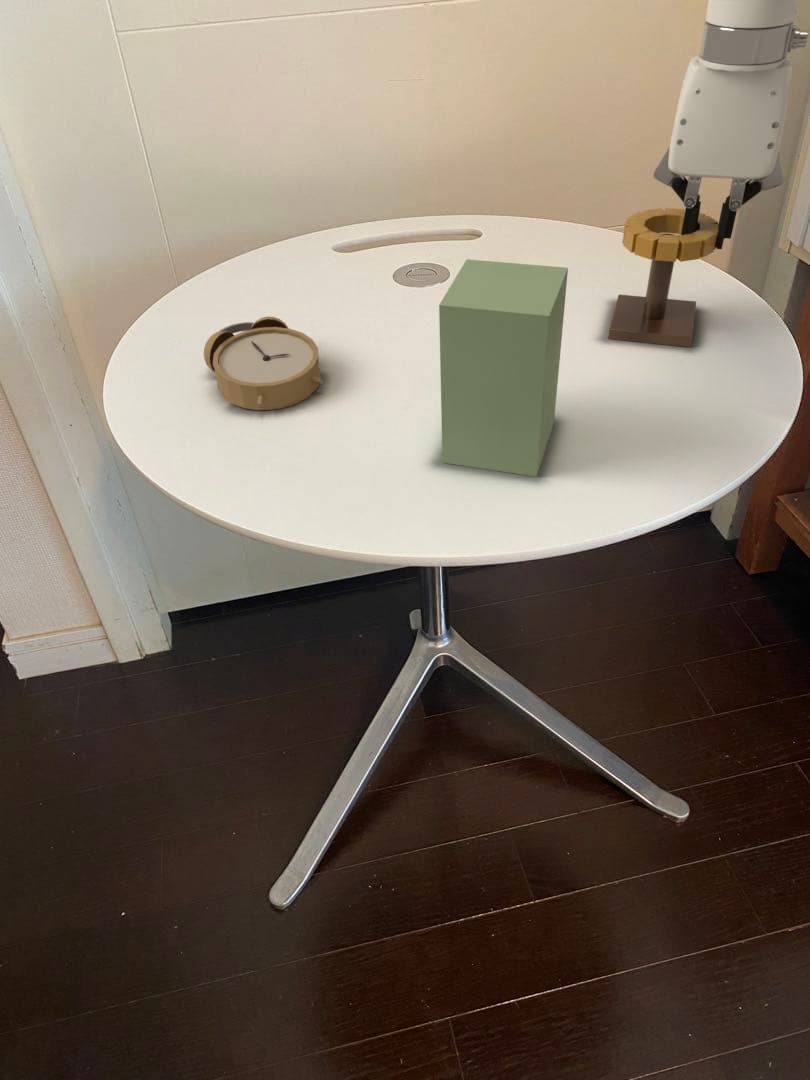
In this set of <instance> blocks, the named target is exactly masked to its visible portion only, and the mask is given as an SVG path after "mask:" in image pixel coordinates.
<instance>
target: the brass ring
mask: <svg viewBox="0 0 810 1080" xmlns="http://www.w3.org/2000/svg"><path fill="white" fill-rule="evenodd" d="M685 209H686V208H674V207H673V208H672V207H664V209H663V208H661V207H660V208H652V209H645V210H642V211H638V212H636V213H634V214H632V215H630V216H628V217H627V218H626V221H625V224H624V229H623V236H622V246H623V247H624V248H625V249H627V250H628V251H629V253H631V254H633V255H634V256H638V257H641V258H644V259H647V260H651V261H652V259H653V258H655V257H656V258H655V260H658V261H671V262H674V263H675V262H677V261H679V262H689V261H695V260H699V259H700V258H701V259H704V258H705V257H708V256H709V255H711V254H713V253H714V252H715V251H716V248H715V244H716V239H717V234H718V226H719V221H717V220H716V219H714V218H713V217H711V216H710V215H706V213H702V212H699V217H698V222H697V227H696V232H694V233H692V234H686V235H681V231H682V226H683V220H684V215H685ZM662 234H673V235H662ZM676 234H679V235H676ZM675 235H676V236H675Z"/></svg>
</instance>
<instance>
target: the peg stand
mask: <svg viewBox="0 0 810 1080" xmlns="http://www.w3.org/2000/svg"><path fill="white" fill-rule="evenodd" d="M661 234H662V235H675V236H677V235H676V234H674V233H661ZM655 258H656V257H655ZM655 258H653V259H651V262H650V268H649V274H648V281H647V287H646V293H645V296H642V295H641V296H639V295H629V294H618V295H617V299H616V301H615V307H614V310H613V313H612V314H613V315H612V318H611V322H610V325H609V328H608V334H607V335H608V336H607V339H608V340H616V341H617V340H618V341H625V342H626V341H627V342H635V343H636V342H637V343H646V344H654V345H663V346H665V345H666V346H674V347H675V346H676V347H683V348H691V345H692V341H693V335H694V334H693V332H694V325H695V316H696V308H697V301H696V300H686V299H685V300H684V299H672V298H669V293H670V288H671V282H672V277H673V272H674V266H675V262H671V261H658V260H655Z"/></svg>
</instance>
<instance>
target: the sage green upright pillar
mask: <svg viewBox="0 0 810 1080" xmlns="http://www.w3.org/2000/svg"><path fill="white" fill-rule="evenodd" d="M568 272H569V267H564V266H563V267H562V266H553V265H552V266H550V265H542V264H541V265H540V264H539V265H538V264H529V263H528V264H527V263H517V262H516V263H515V262H504V261H494V260H493V261H491V260H480V259H479V260H477V259H469V258H467V259H465V261H464V263H463V264H462V266H461V268H460V270H459V271H458V273H457V275H456V276H455V278H454V279H453V281H452V283H451V284H450V286H449V287H448V290H447V291H446V292H445V294H444V296H443V298H442V300H440V303H439V304H438V316H439V317H438V318H439V319H438V320H439V361H440V362H439V363H440V365H439V366H440V367H439V369H440V370H439V371H440V407H441V408H440V410H441V412H440V413H441V416H440V417H441V455H442V456H441V458H442V459H441V460H442V463H443V464H448V465H449V464H450V465H455V466H461V467H468V468H476V469H482V470H488V471H495V472H501V473H502V472H503V473H508V474H513V475H514V474H515V475H522V476H529V477H535V478H538V475H539V472H540V468H541V465H542V462H543V459H544V456H545V453H546V449H547V446H548V443H549V440H550V437H551V433H552V430H553V428H554V424H555V416H556V406H557V393H558V384H559V382H558V381H559V371H560V361H561V351H562V340H563V328H564V318H565V317H564V316H565V306H566V295H567V294H566V293H567V284H568Z"/></svg>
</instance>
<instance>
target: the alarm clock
mask: <svg viewBox="0 0 810 1080" xmlns="http://www.w3.org/2000/svg"><path fill="white" fill-rule="evenodd" d="M236 333H237V334H236ZM203 359H204V362H205V364H206V366H207V367H208V369H210V371H212V372H213V373H215V379H216V385H217V389H218V391H219V393H220V395H221V397H222V398H224V399H225V400H226V401H227V402H229V404H231V405H234V406H237V407H239V408H242V409H247V410H255V411H271V410H272V411H273V410H279V409H283V408H288V407H291V406H294V405H297V404H299V403H300V402H302V401H304V400H306V399H308V398H309V397H310V396H311V395H313V393H314V392H315V391H317V389H318V386H319V385H323V384H324V379H322V378H321V368H320V361H319V348H318V346H317V344H316V343H315V341H314V339H312V338H311V337H310V336H308V335H307V334H306V333H304V332H301V331H298V330H295V329H293V328H289V327H288V325H287V324H286V322H284V321H283V320H282V319H280V318H277V317H275V316H263V317H260V318H259V319H257V320H255V321H254V322H250V321H249V322H248V321H247V322H245V321H244V322H239V323H238V322H237V323H234V324H230V325H228V326H225V327H223V328H221V329H220V330H219V331H217V332H214V333H213V334H211V336H209V338H207V340H206V342H205V345H204V349H203Z"/></svg>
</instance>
